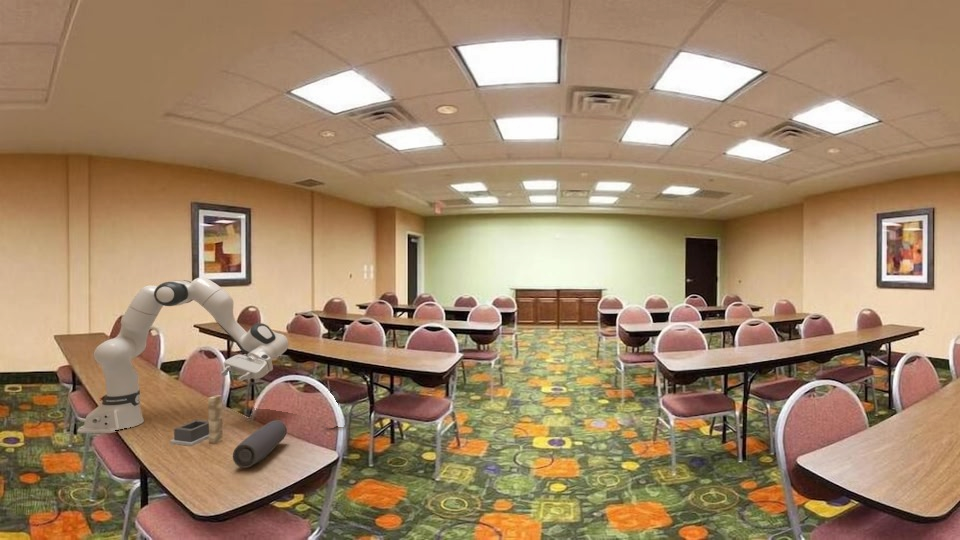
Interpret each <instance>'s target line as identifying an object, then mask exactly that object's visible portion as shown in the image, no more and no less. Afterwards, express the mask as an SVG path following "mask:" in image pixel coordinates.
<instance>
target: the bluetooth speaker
mask: <svg viewBox="0 0 960 540" xmlns="http://www.w3.org/2000/svg"><path fill="white" fill-rule="evenodd" d="M287 433H288V429H287V426H286V424H285V423H284V422H283V421H282V420H279V419H276V420H272V421H270V422H268V423H266V424H264V425H262V426H261V427H260V428H258V429H257V430H255V431H254V432H253V433H251V434H250V435H249V436H247V437H246V438H245V439H244V440H242V441H241V442H240V443H239V444H238V445H237V446H236V447H235V448H234V450H233V453H232V459H233V462H234V463H235V465H236V466H238V467H240V468H245V469H246V468H250V467H252V466H254V465H255V464H258V463H260V462H262V461H263V460H265V458H266V457H267V455H268V454H269V453H270V452H271V453H272V451H273V450H274V449H275V448H276V447H277V446H278V445H279V444H280V443H281V442H282V441H283V440H284V438H285V437H286V435H287ZM271 453H270V454H271ZM270 454H269V455H270ZM269 455H268V456H269Z"/></svg>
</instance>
